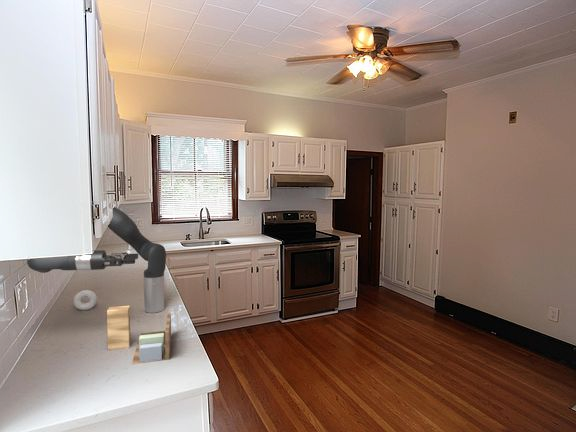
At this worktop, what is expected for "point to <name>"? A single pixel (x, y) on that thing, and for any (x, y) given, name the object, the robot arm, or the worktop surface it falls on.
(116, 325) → the light brown wooden block
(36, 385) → the worktop surface
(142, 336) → the offcut
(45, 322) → the worktop surface
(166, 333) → the rack
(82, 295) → the donut
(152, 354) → the offcut
